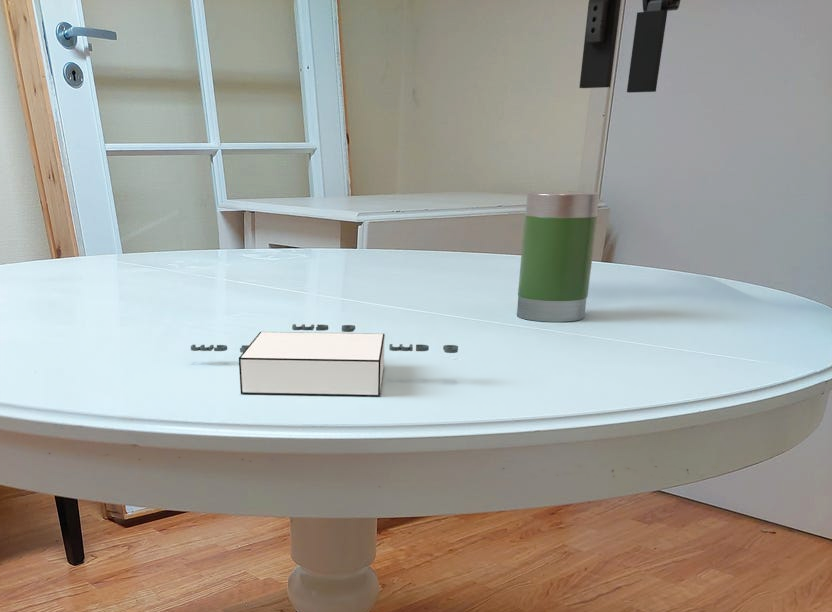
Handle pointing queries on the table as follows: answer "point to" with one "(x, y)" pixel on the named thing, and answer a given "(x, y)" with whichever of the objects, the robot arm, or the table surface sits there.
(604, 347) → the table surface
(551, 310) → the can
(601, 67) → the robot arm
